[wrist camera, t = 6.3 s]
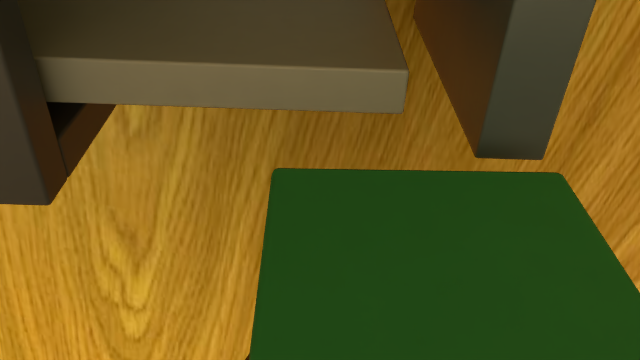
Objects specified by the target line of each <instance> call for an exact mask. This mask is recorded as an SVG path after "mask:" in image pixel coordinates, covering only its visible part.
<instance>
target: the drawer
mask: <svg viewBox="0 0 640 360" xmlns="http://www.w3.org/2000/svg"><path fill="white" fill-rule="evenodd" d="M17 1H18V5H19V8H20V12H21V15H22V19H23V22H24V26H25V29H26V33H27V37H28V40H29V44H30V47H31V51H32V54H33V58H34V61H35V65H36V68H37V72H38V75H39V79H40V82H41V86H42V89H43V93H44V96H45V100H46V102H65V103H94V104H123V105H153V106H182V107H212V108H241V109H270V110H300V111H329V112H359V113H388V114H402V113H403V111H404V104H405V98H406V91H407V84H408V77H409V70H408V67H407V64H406V61H405V58H404V55H403V52H402V49H401V46H400V43H399V40H398V38H397V35H396V32H395V29H394V26H393V23H392V20H391V17H390V14H389V11H388V8H387V5H386V2H385V0H17ZM595 2H596V0H416V2H415V9H414V16H413V18H414V21H415V23H416V25H417V27H418V30H419V32H420V34H421V36H422V39H423V41H424V43H425V45H426V48H427V50H428V52H429V54H430V56H431V59H432V61H433V63H434V65H435V68H436V70H437V72H438V74H439V77H440V79H441V81H442V83H443V86H444V88H445V90H446V92H447V95H448V97H449V99H450V101H451V104H452V106H453V108H454V110H455V113H456V115H457V117H458V119H459V122H460V124H461V126H462V128H463V131H464V133H465V135H466V137H467V140H468V142H469V144H470V146H471V149H472V151H473V153H474V155H475V157H476V158H493V159H524V160H542V159H543V157H544V154H545V151H546V148H547V145H548V142H549V139H550V136H551V133H552V130H553V127H554V124H555V121H556V118H557V115H558V112H559V109H560V106H561V103H562V100H563V98H564V95H565V92H566V89H567V86H568V83H569V80H570V77H571V74H572V71H573V68H574V65H575V62H576V59H577V56H578V53H579V50H580V47H581V44H582V41H583V38H584V35H585V32H586V29H587V26H588V23H589V20H590V17H591V14H592V11H593V8H594V5H595Z"/></svg>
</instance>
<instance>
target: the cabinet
mask: <svg viewBox="0 0 640 360" xmlns="http://www.w3.org/2000/svg"><path fill="white" fill-rule="evenodd" d="M116 105H117V104H94V103H65V102H46V100H45V96H44V93H43V89H42V86H41V82H40V79H39V75H38V72H37V68H36V65H35V61H34V58H33V54H32V51H31V47H30V44H29V40H28V37H27V33H26V29H25V26H24V22H23V19H22V15H21V12H20V8H19V5H18V1H17V0H0V204H17V205H50V204H51V203H52V202H53V200H54V199H55V197H56V195H57V194H58V192H59V191H60V189H61V188H62V186H63V185H64V183H65V182H66V180H67V177H69V176H70V175H71V173H72V172H73V170H74V169H75V167H76V166H77V164H78V163H79V161H80V160H81V158H82V157H83V155H84V154H85V152H86V151H87V149H88V148H89V146H90V144H91V143H92V141H93V140H94V138H95V137H96V135H97V134H98V132H99V131H100V129H101V128H102V126H103V125H104V123H105V122H106V120H107V119H108V117H109V116H110V114H111V113H112V111H113V110H114V108H115V107H116Z"/></svg>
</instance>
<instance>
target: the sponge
mask: <svg viewBox="0 0 640 360" xmlns="http://www.w3.org/2000/svg"><path fill="white" fill-rule="evenodd" d="M249 360H640V293H639V291H638V290H637V288H636V286H635V285H634V283H633V282H632V280H631V279H630V277H629V276H628V274H627V273H626V271H625V270H624V268H623V267H622V265H621V264H620V262H619V261H618V259H617V257H616V256H615V254H614V253H613V251H612V250H611V248H610V247H609V245H608V244H607V242H606V241H605V239H604V238H603V236H602V235H601V233H600V231H599V230H598V228H597V227H596V225H595V224H594V222H593V221H592V219H591V218H590V216H589V215H588V213H587V212H586V210H585V209H584V207H583V205H582V204H581V202H580V201H579V199H578V198H577V196H576V195H575V193H574V192H573V190H572V189H571V187H570V186H569V184H568V183H567V181H566V180H565V178H564V176H563V175H561V174H559V173H549V172H485V171H422V170H358V169H295V168H278V169H275V170H274V171H273V173H272V177H271V185H270V193H269V201H268V209H267V217H266V225H265V233H264V241H263V250H262V258H261V266H260V274H259V282H258V290H257V298H256V306H255V314H254V322H253V330H252V338H251V347H250V355H249Z"/></svg>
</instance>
